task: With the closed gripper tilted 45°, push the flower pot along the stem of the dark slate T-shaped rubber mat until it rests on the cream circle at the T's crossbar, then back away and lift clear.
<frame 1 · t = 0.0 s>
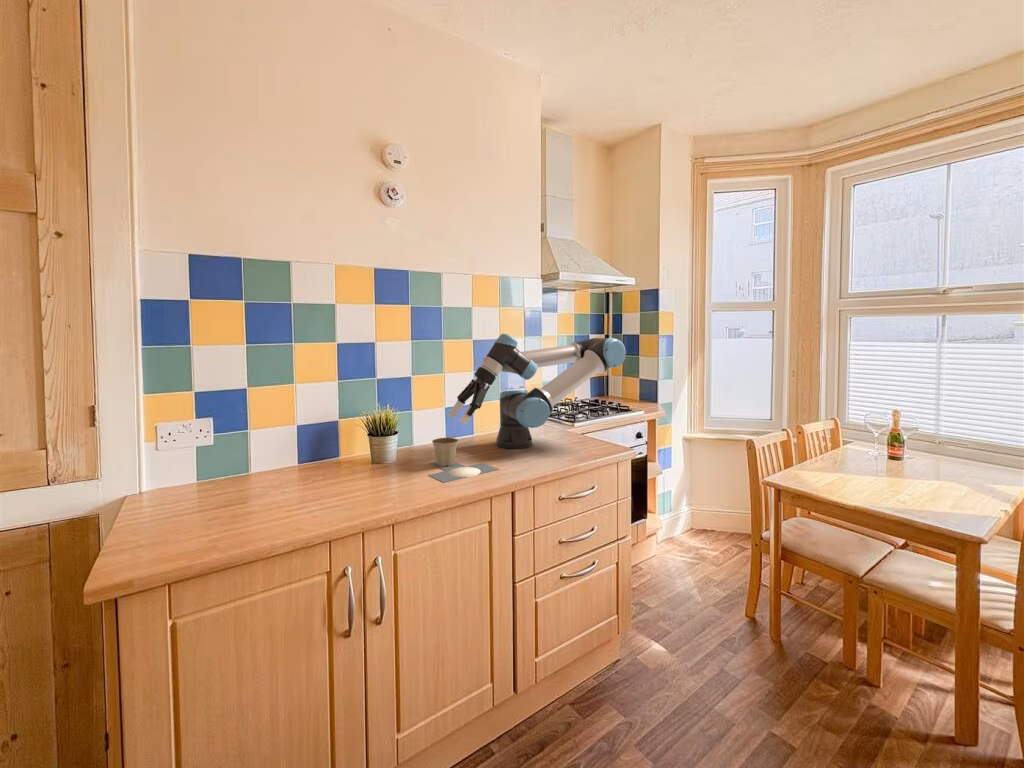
hand: (456, 419, 169), 15 cm above the counter, tool tilted 35°, fingers open, 13 cm apart
flower pot: (446, 464, 166), resting on T mat
T mat: (464, 472, 156), on the counter
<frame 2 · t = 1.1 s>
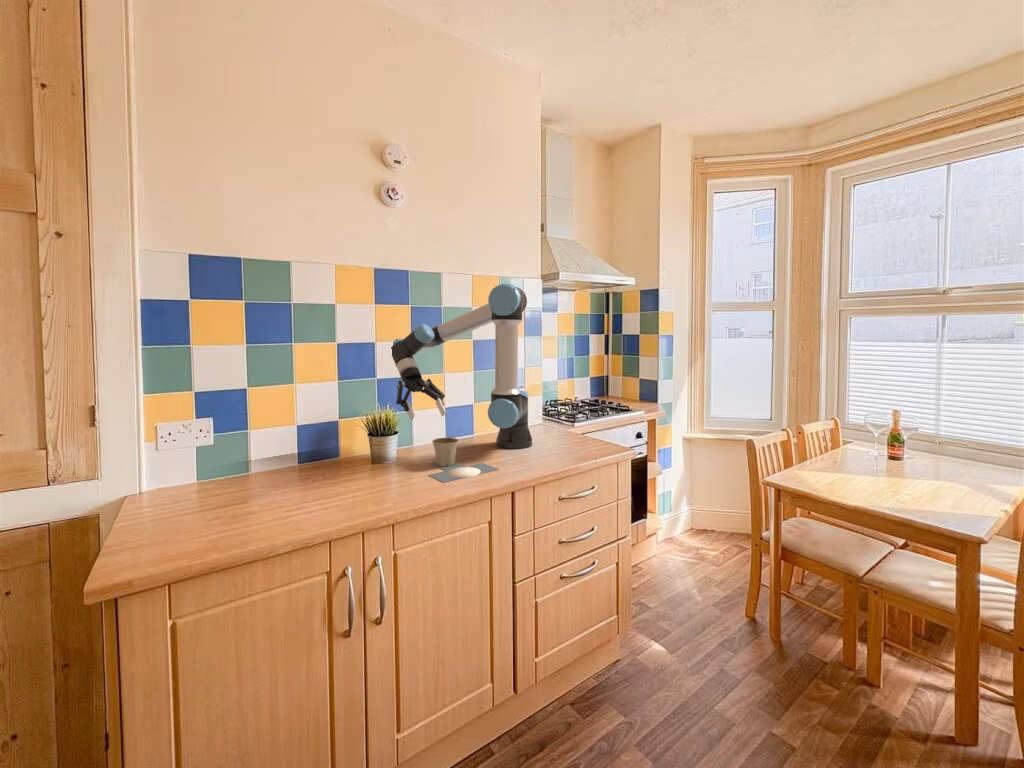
hand: (428, 415, 173), 16 cm above the counter, tool tilted 45°, fingers open, 12 cm apart
nothing on the counter moved.
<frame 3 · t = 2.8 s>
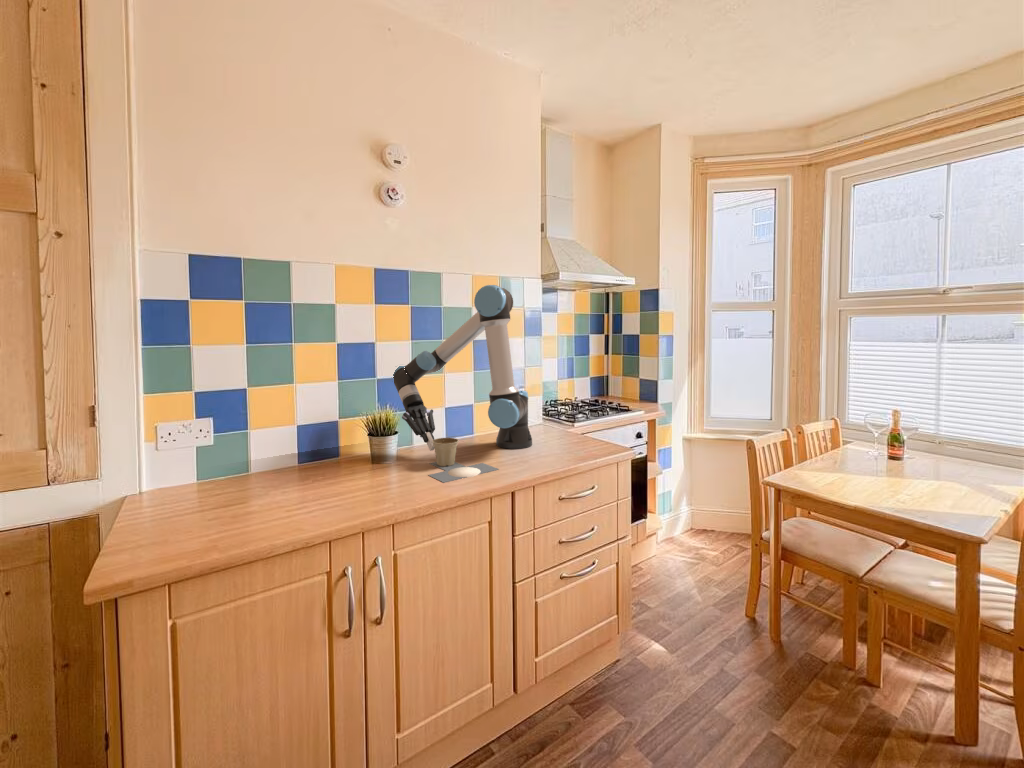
hand: (432, 448, 172), 4 cm above the counter, tool tilted 45°, fingers closed
nothing on the counter moved.
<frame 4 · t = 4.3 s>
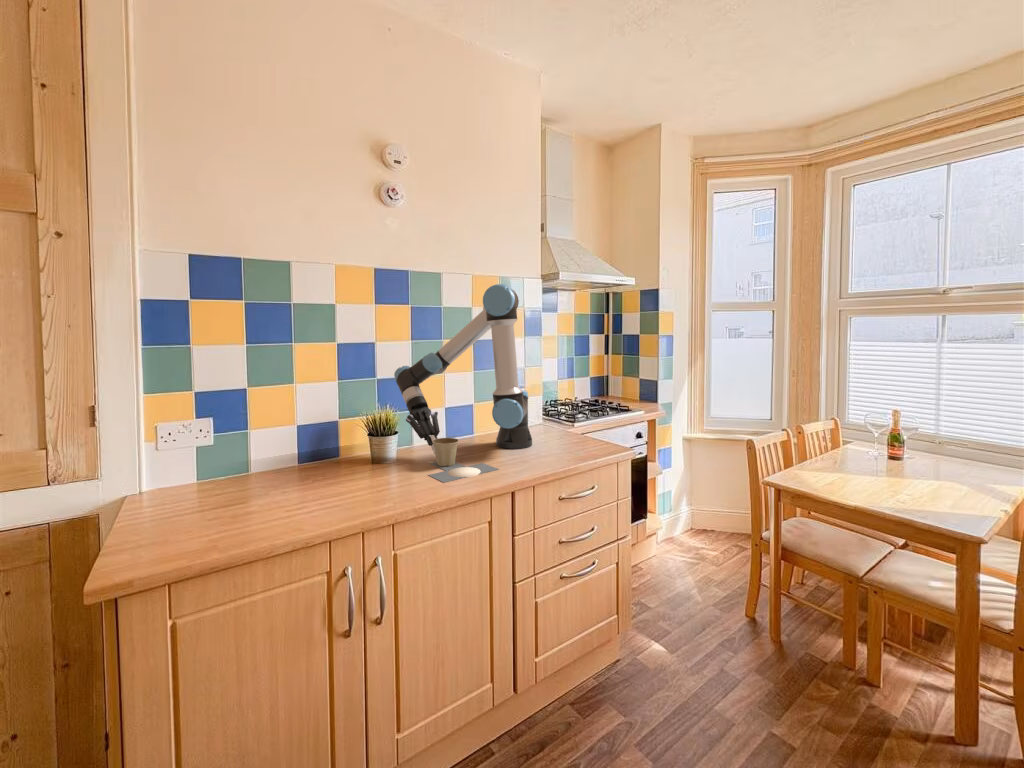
hand: (437, 451, 168), 4 cm above the counter, tool tilted 45°, fingers closed
flower pot: (446, 464, 165), resting on T mat, touching gripper
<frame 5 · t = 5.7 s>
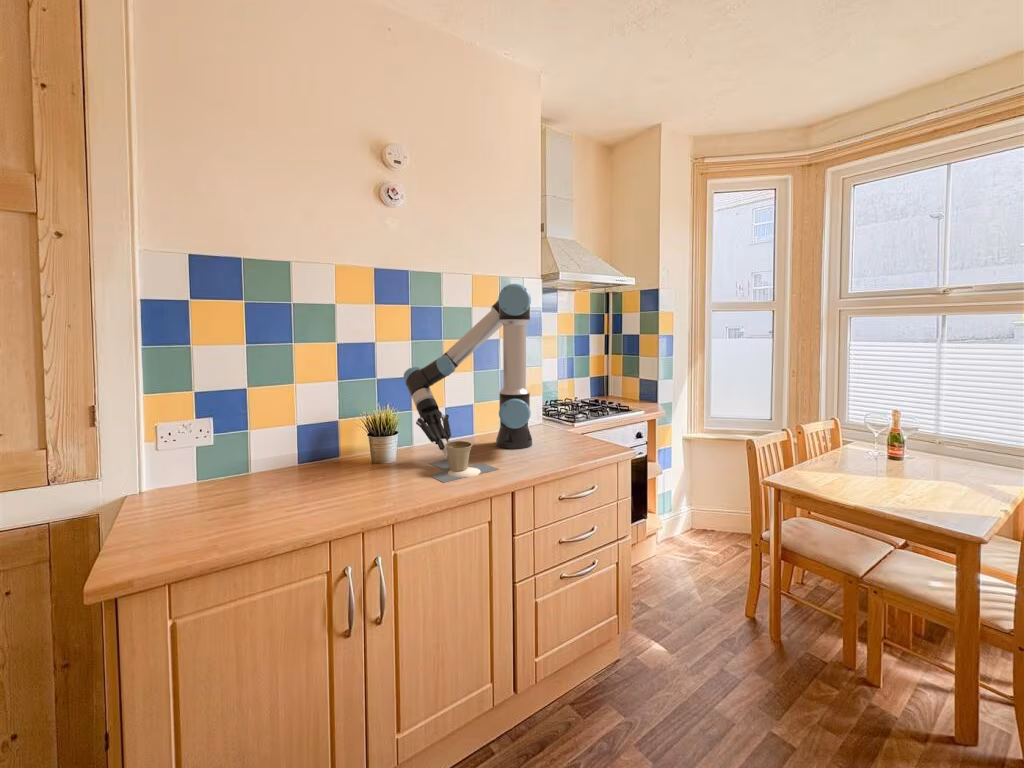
hand: (449, 456, 162), 4 cm above the counter, tool tilted 45°, fingers closed
flower pot: (458, 469, 160), resting on T mat, touching gripper
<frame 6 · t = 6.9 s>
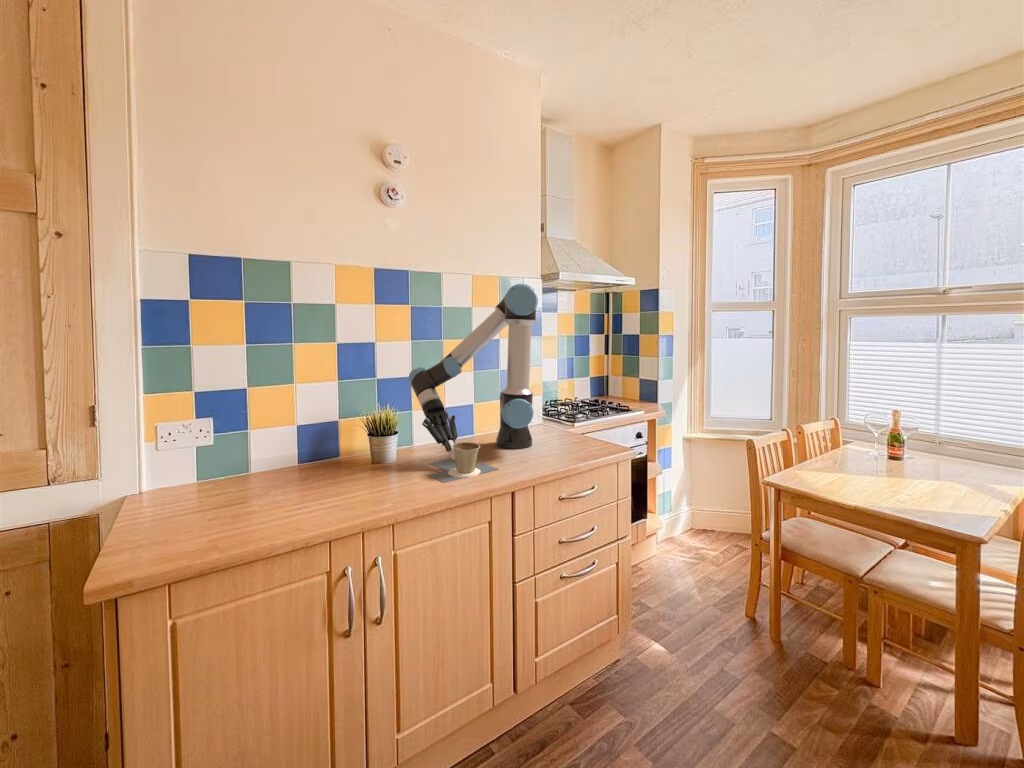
hand: (456, 457, 160), 4 cm above the counter, tool tilted 45°, fingers closed
flower pot: (465, 470, 157), resting on T mat, touching gripper
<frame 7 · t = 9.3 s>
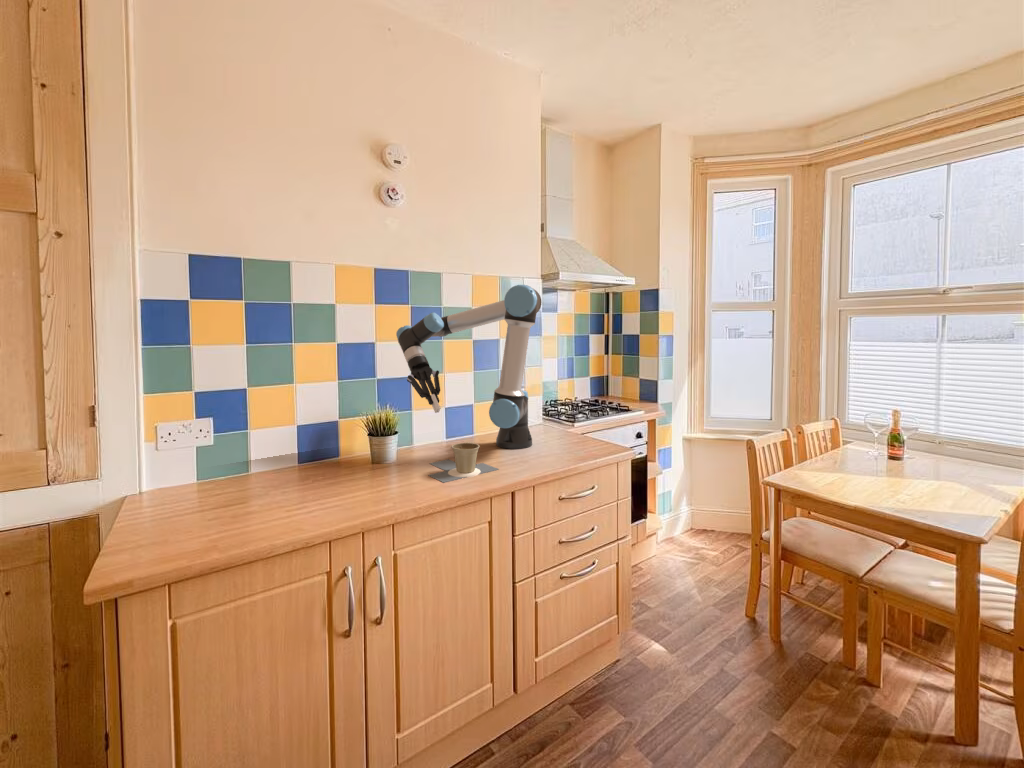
hand: (437, 410, 171), 18 cm above the counter, tool tilted 40°, fingers closed
flower pot: (465, 471, 158), resting on T mat
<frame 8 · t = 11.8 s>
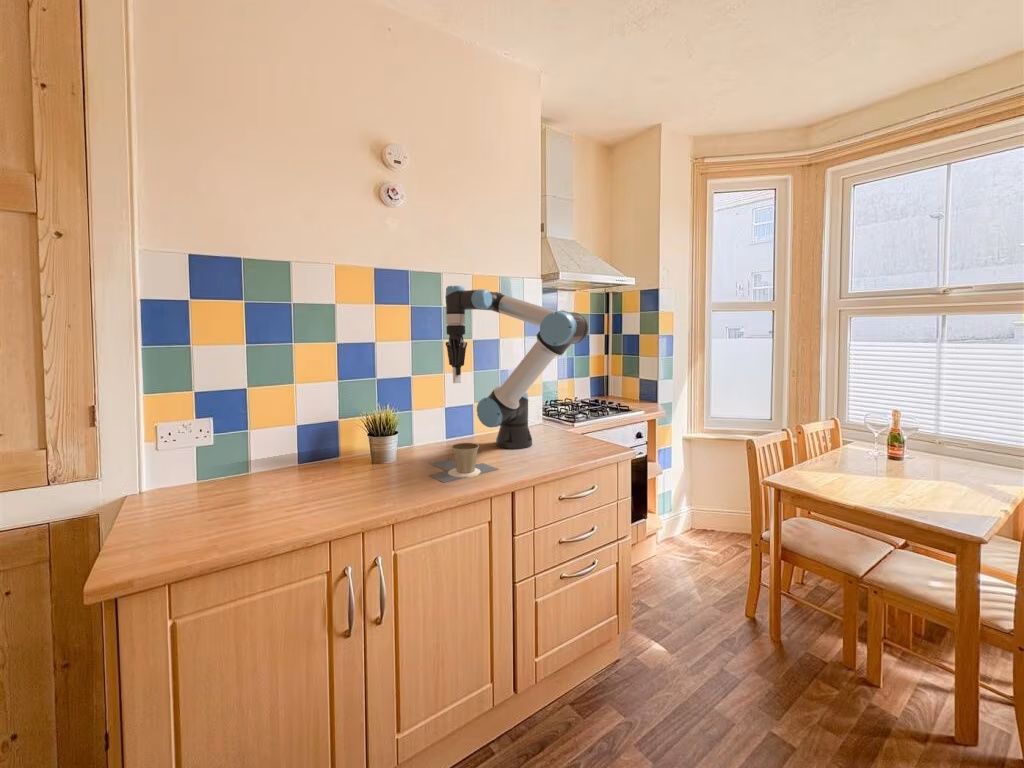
hand: (456, 382, 190), 26 cm above the counter, tool pointing down, fingers closed
nothing on the counter moved.
at the end: flower pot 1.3 cm from the T mat (horizontally); flower pot tilted 0°; flower pot moved 11.4 cm from its start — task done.
